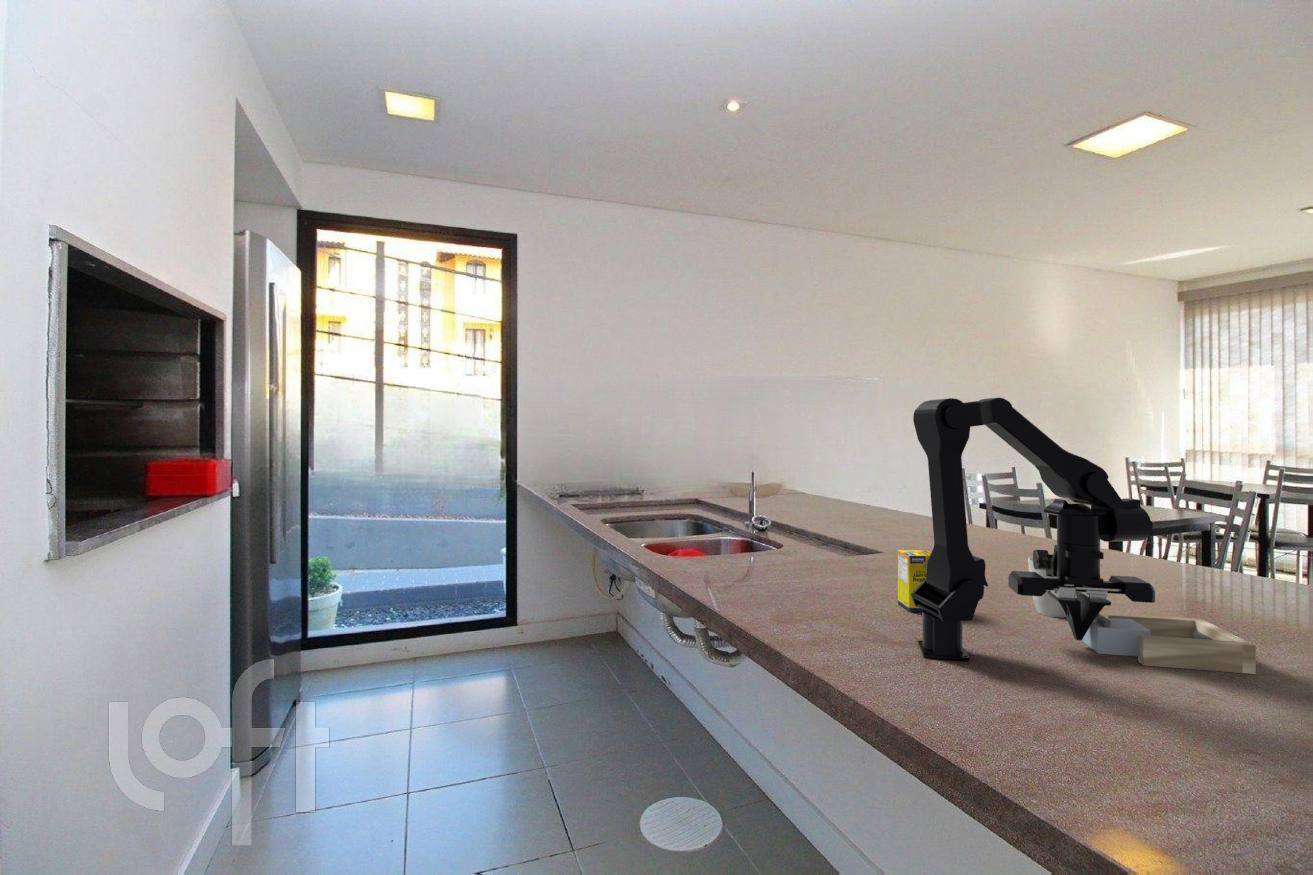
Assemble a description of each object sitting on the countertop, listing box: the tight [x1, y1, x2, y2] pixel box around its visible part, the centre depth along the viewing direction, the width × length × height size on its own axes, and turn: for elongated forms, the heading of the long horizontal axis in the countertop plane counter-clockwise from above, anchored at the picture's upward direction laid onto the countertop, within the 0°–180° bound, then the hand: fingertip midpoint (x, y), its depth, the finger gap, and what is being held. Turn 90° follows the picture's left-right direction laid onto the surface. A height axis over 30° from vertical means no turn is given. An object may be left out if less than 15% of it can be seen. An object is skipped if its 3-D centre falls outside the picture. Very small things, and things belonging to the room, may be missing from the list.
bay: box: [1103, 612, 1257, 675], centre depth 94 cm, size 13×14×4 cm
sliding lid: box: [1081, 613, 1151, 657], centre depth 97 cm, size 6×7×5 cm
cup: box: [1027, 556, 1076, 618], centre depth 115 cm, size 8×8×10 cm
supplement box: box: [897, 549, 932, 613], centre depth 120 cm, size 6×6×11 cm
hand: (1078, 639), depth 98 cm, fingers closed
